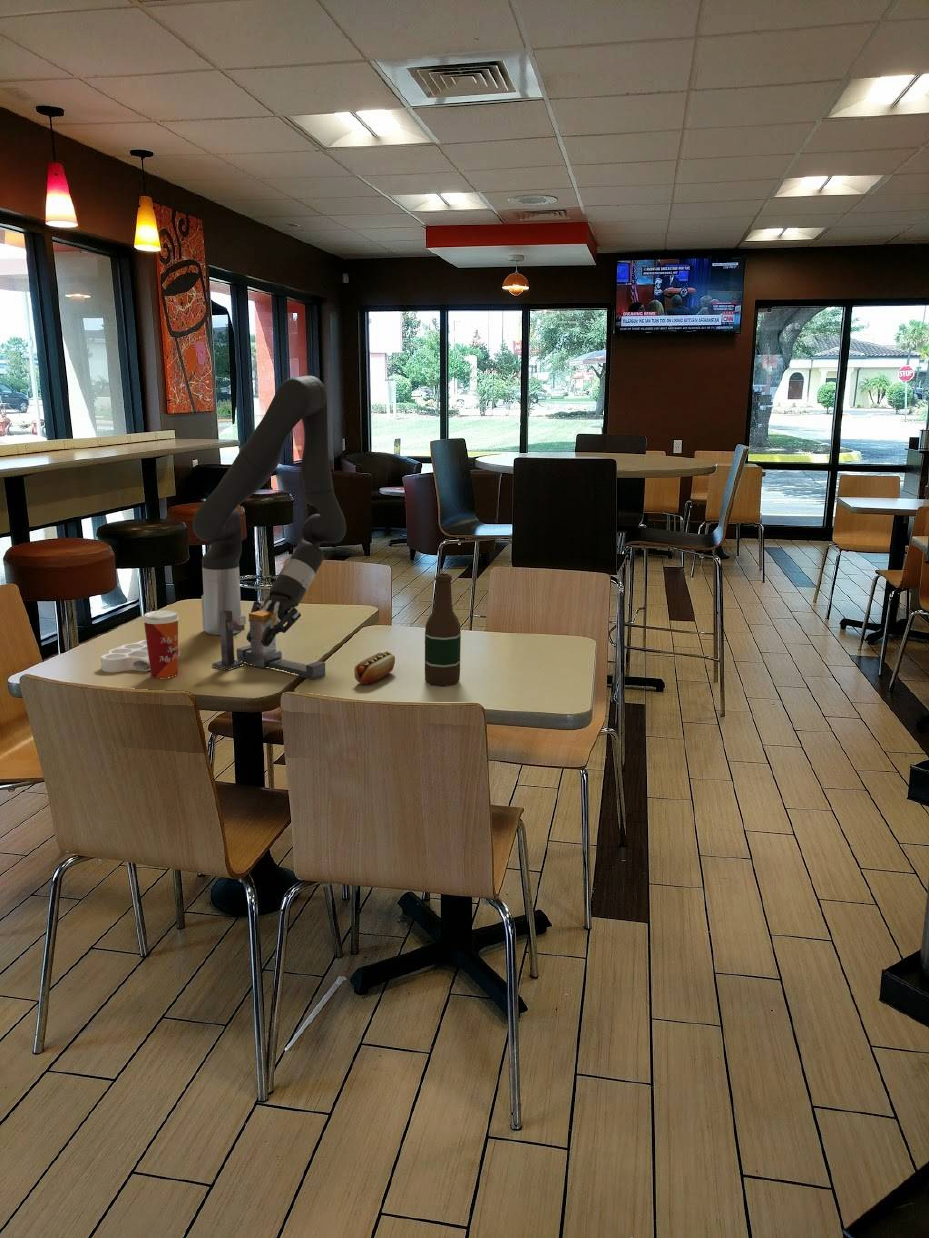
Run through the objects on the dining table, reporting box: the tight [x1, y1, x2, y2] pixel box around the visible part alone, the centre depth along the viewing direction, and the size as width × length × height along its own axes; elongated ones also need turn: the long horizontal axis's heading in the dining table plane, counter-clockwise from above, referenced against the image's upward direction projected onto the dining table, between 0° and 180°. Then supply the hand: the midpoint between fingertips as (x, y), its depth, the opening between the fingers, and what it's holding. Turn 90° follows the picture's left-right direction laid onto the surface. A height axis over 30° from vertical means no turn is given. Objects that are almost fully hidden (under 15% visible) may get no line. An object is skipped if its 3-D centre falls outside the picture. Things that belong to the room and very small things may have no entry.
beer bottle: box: [424, 573, 462, 688], centre depth 199 cm, size 8×8×24 cm
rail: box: [236, 644, 326, 681], centre depth 210 cm, size 24×4×3 cm, turn 56°
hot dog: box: [354, 651, 396, 685], centre depth 203 cm, size 5×13×5 cm, turn 156°
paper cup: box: [142, 610, 180, 680], centre depth 202 cm, size 8×8×14 cm
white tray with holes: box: [100, 639, 181, 673], centre depth 213 cm, size 3×18×15 cm
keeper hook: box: [211, 610, 247, 671], centre depth 208 cm, size 8×5×13 cm, turn 56°
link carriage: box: [245, 610, 283, 669], centre depth 211 cm, size 6×6×12 cm
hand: (256, 642), depth 210 cm, fingers closed on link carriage, 4 cm apart
